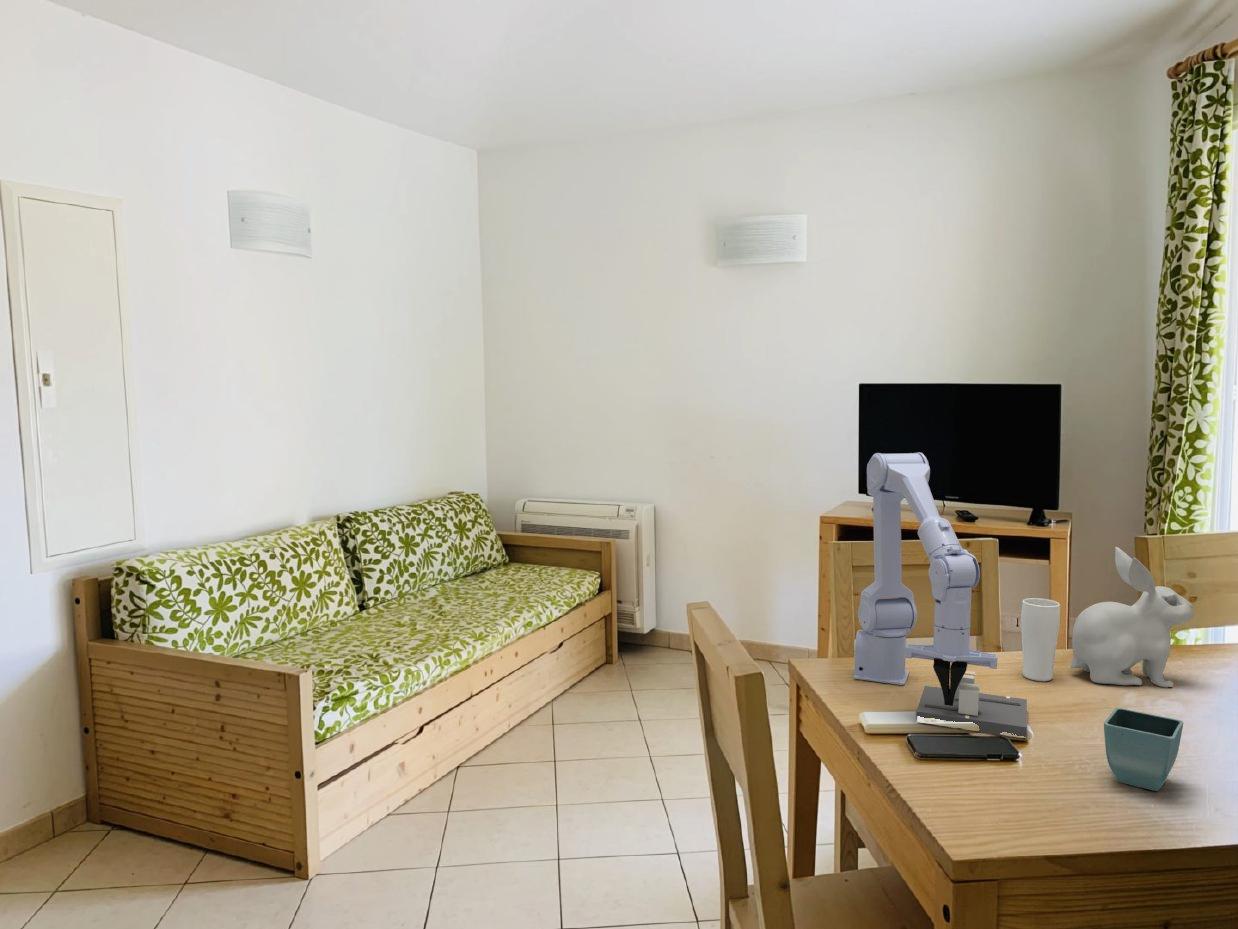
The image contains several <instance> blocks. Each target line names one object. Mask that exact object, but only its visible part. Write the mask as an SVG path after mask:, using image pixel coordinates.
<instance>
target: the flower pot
mask: <svg viewBox="0 0 1238 929" xmlns="http://www.w3.org/2000/svg"><path fill="white" fill-rule="evenodd" d="M1183 726H1184V721H1183V720H1181V719H1176V718H1171V717H1166V716H1163V715H1161V716H1160V715H1155V714H1151V713H1146V712H1141V711H1138V710H1137V711H1136V710H1132V709H1127V708H1122V707H1115V708H1114V709H1113V710H1112V711H1111V713H1110V714H1109V716H1108V717H1107V718H1106V719H1105V720H1104V722H1103V732H1104V735H1103V736H1104V744H1105V745H1104V746H1105V755H1106V760H1107V763H1108V766H1109V767H1110V768H1109V769H1110V771H1111V772H1112V774H1113V776H1114V777H1115V779H1116V781H1117V782H1118V783H1122V784H1127V785H1129V786H1134V787H1139V788H1141V789H1146V790H1150V791H1154V792H1158V791H1160V789H1161V788H1162V787H1163V786H1164V784H1165V781H1166V780H1167V778H1168V776H1169V774H1170V772H1171V770H1172V768H1173V767H1174V765H1175V762H1176V760H1177V757H1178V753H1179V750H1180V748H1179V747H1180V743H1181V739H1182V733H1183Z"/></svg>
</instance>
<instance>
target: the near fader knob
mask: <svg viewBox="0 0 1238 929" xmlns="http://www.w3.org/2000/svg"><path fill="white" fill-rule="evenodd" d="M980 687H981V686H980V684H976V683H975V684H968V683H961V684H960V689H959V709H958V713H961V714H968V715H975V716H978V710H979V693H980V689H981V688H980Z"/></svg>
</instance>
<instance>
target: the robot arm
mask: <svg viewBox="0 0 1238 929" xmlns="http://www.w3.org/2000/svg"><path fill="white" fill-rule="evenodd" d="M929 464H930V463H929V460H928V459H927V456H926V455H924V453H923V452H913V453H912V452H910V453H909V452H908V453H881V452H876V453H874V454H873V455H872V456H871V458H870V459H869V461H868V463H867V464H866V465H867V466H866V488H867V495H868V496H871V497H872V503H873V504H872V509H873V514H872V517H873V557H874V558H873V564H874V565H873V566H874V568H873V569H874V574H873V576H874V581H873V582H872V583H871V584H869V585H868V586H867V587H865V588H864V589H863V590H862V591H861V592H860V601H859V606H858V609H857V617H858V621H859V625H860V626H861V628H862V629H858V630H857V632H856V635H855V642H854V663H853V664H854V668H853V672H854V675H853V679H855V680H861V681H868V682H869V681H870V682H876V683H884V684H889V685H890V684H891V685H896V686H897V685H898V686H905V685H906V682H907V680H908V677H909V675H910V671H909V670H906V659H913V658H914V659H922V660H928V661H929V660H931V661H933V664H932V665H933V666H932V667H933V670H934V672H935V675H936V678H937V679H938V682H939V685H940V688H942V692H943V696H944V705H949V706H953V703H954V696H955V693H956V690H957V687H958V685H959V683H960V681H961V679H962V677H963V676H964V674H965V672H966V671H967V670H968V665H970V666H980V667H988V668H989V669H994V670H997V669H998V656H999V655H998V654H997V653H996V654H995V653H988V652H982V651H979V650H973V649H970V640H971V639H970V638H971V635H970V634H971V614H972V613H971V612H972V591H973V590H972V589H974V588H975V587H977V586H978V585H979V582H980V578H981V577H980V576H981V572H980V565H979V563H978V559H977V558H976V556H975V555H974V554H973V553H969V551H968V550H967V549H965V548H963V547H962V545H961V543H960V541H959V539H958V537H957V535H956V532H955V531H954V529H953V526H952V525H951V522H950V521H949V520H948V519H946V518H944V517H941V515H940V513H939V511H938V508H937V504H936V503H935V499H934V497H933V494H932V492H931V488H930V486H929V480H930V476H931V468H930V465H929ZM904 499H905V500H906V502H907V503H908V506H909V507H910V509H911V511H912V513H913V514H914V515H915V517H916V519H917V521H918V523H919V525H920V526H919V527H918V530H917V536H918V537H919V540H920V543H921V544H922V546H923V549H924V552H925V553H926V555H927V558H928V561H929V563H930V565H929V568H928V578H929V581H930V584H931V595H932V597H933V598H934V612H933V613H934V615H933V616H934V618H933V639H932V642H933V643H932V644H933V645H932V644H927V645H926V644H908V643H907V635H910V634H911V630H913V629H914V628H915V626H916V623H917V620H918V611H917V606H916V603H915V594H914V592H913V591H912V590H911V589H910V588H908V586H906V585H905V584H903V580H902V579H903V578H902V576H903V574H902V573H903V572H902V525H901V524H902V523H901V522H902V521H901V520H902V519H901V518H902V515H901V508H902V507H901V505H902V504H901V503H902V501H903V500H904Z"/></svg>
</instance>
